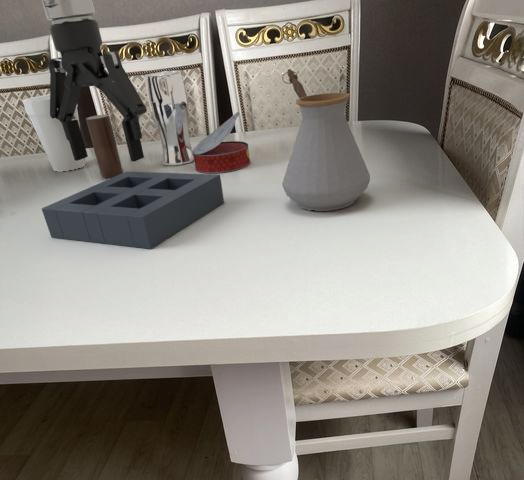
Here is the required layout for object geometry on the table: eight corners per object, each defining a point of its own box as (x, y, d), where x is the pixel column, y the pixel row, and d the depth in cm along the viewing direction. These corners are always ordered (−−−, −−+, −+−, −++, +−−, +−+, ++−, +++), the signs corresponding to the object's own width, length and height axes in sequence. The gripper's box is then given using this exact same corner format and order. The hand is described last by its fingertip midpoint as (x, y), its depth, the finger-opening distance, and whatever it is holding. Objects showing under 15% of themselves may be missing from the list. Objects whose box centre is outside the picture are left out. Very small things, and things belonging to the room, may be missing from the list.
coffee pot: (384, 206, 67) (386, 74, 58) (296, 222, 65) (286, 89, 57) (330, 168, 84) (326, 63, 76) (260, 180, 83) (249, 74, 75)
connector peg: (97, 178, 96) (80, 119, 90) (111, 172, 98) (96, 114, 93) (113, 179, 94) (98, 119, 88) (128, 172, 97) (113, 114, 91)
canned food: (239, 197, 92) (221, 152, 83) (192, 188, 96) (171, 144, 88) (266, 151, 96) (252, 104, 87) (220, 144, 100) (203, 98, 91)
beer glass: (174, 156, 104) (158, 71, 96) (204, 156, 101) (190, 68, 93) (153, 166, 99) (134, 77, 90) (184, 166, 96) (167, 74, 88)
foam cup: (101, 159, 108) (82, 90, 101) (80, 172, 101) (59, 98, 94) (59, 162, 110) (38, 95, 103) (36, 175, 103) (12, 103, 96)
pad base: (51, 237, 71) (41, 208, 68) (132, 197, 83) (126, 171, 81) (151, 249, 63) (143, 216, 61) (224, 202, 75) (220, 174, 73)
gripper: (1, 30, 86) (44, 163, 97) (116, 13, 75) (149, 166, 86) (36, 26, 91) (73, 153, 103) (148, 10, 80) (176, 154, 92)
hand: (108, 159), depth 95 cm, fingers open, 13 cm apart
